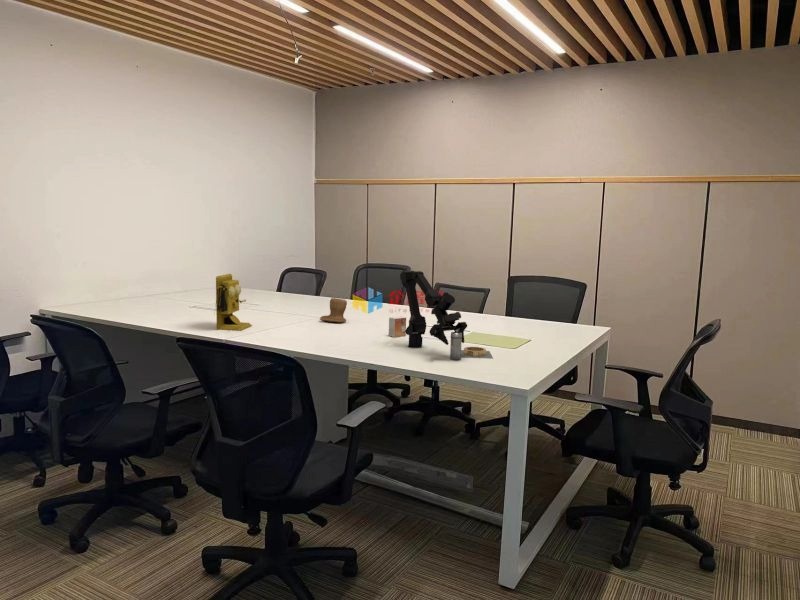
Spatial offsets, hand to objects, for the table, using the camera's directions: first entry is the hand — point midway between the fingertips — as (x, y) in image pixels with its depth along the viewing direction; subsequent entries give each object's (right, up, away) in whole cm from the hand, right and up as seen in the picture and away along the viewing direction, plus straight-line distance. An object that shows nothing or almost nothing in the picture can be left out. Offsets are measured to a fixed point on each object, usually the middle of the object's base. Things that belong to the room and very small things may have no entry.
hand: (455, 343), depth 274 cm
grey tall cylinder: (0, -8, +1) cm, 8 cm away
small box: (-27, 0, +54) cm, 61 cm away
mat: (+10, -7, +13) cm, 17 cm away
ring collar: (+10, -6, +12) cm, 17 cm away
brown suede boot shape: (-66, +6, +93) cm, 114 cm away
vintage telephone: (-120, +4, +64) cm, 136 cm away
